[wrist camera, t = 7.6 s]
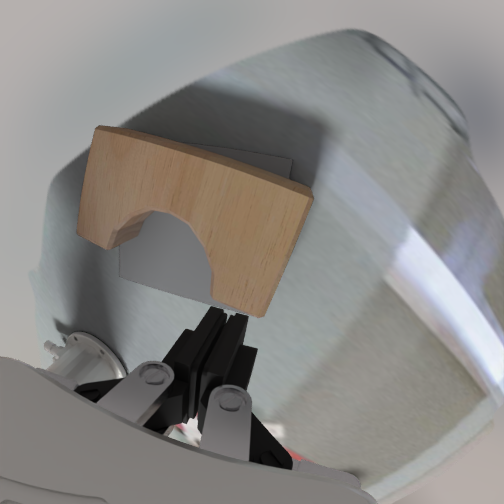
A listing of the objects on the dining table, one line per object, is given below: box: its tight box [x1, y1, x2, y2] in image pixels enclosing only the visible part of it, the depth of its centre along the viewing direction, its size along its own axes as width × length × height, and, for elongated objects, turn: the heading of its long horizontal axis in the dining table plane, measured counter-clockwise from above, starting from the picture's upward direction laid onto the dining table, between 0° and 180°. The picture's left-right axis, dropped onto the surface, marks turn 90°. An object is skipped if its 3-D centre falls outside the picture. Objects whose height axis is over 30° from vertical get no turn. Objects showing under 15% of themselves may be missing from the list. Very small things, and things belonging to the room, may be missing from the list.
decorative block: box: [77, 125, 314, 318], centre depth 24 cm, size 11×6×20 cm
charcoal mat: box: [119, 142, 293, 316], centre depth 28 cm, size 17×16×1 cm
